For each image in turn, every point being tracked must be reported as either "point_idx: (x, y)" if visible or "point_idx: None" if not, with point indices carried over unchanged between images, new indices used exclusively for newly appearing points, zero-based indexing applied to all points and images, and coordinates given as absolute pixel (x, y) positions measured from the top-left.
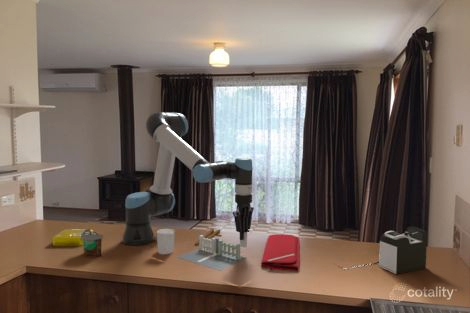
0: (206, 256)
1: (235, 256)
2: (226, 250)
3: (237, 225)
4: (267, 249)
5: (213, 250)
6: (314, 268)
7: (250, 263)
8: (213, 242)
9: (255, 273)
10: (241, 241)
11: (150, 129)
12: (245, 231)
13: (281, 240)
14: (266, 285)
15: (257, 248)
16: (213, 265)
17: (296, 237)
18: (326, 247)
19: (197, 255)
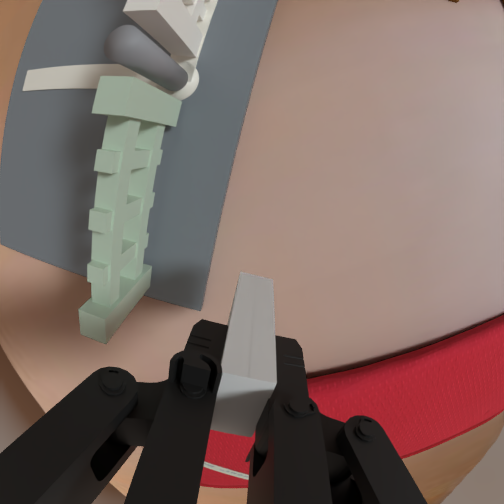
0: (101, 54)
1: (181, 236)
2: (140, 174)
3: (32, 462)
4: (325, 406)
5: (165, 47)
6: (236, 491)
7: (151, 342)
8: (138, 22)
9: (78, 375)
10: (230, 315)
11: None
12: (255, 430)
13: (469, 399)
14: (46, 403)
15: (417, 303)
16: (17, 181)
17: (494, 416)
18: (430, 469)
19: (102, 4)
